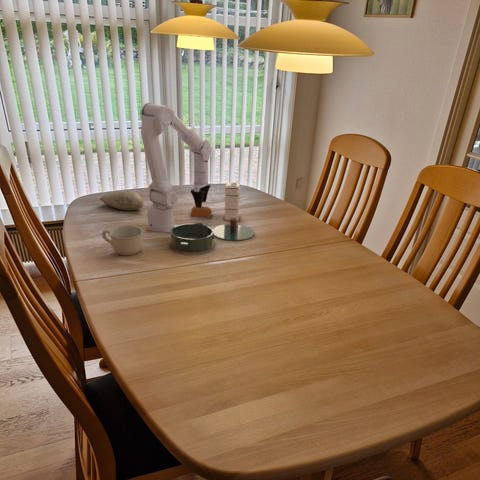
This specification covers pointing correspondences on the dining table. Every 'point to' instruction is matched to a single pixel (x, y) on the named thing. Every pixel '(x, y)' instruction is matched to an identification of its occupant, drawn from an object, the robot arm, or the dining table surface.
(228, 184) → the white toy tower
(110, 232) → the teacup
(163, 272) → the dining table surface
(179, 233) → the pot
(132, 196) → the rock
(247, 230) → the lid
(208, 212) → the bread
